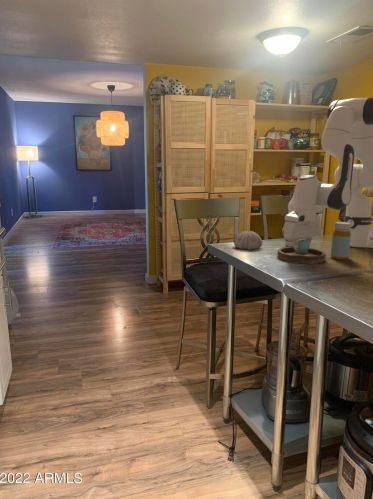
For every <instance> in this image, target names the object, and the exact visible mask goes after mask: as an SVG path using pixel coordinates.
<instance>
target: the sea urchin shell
mask: <svg viewBox="0 0 373 499" xmlns="http://www.w3.org/2000/svg"><path fill="white" fill-rule="evenodd" d="M263 244H264V243H263V240H262V238H261V236H260V235H259V234H258V233H257V232H254V231H252V230H244V231H242V232H240V233H239V234H238V235H236V237H235V238H234V240H233V245H234V247H236V248H238V249H241V250H250V251H251V250H258V249H260V248H262V246H263Z"/></svg>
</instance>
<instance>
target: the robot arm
mask: <svg viewBox="0 0 373 499" xmlns="http://www.w3.org/2000/svg"><path fill="white" fill-rule="evenodd" d="M326 118H327V119H326V120H327V121H326V122H325V126H324V128H323V131H322V132H323V133H322V136H321V140H320V145H321V148H322V149H323V151H324V152H325V153H327V154H328V155H330V156H332V157H334V158H336V159H337V160H338V167H337V168H336V169H335V171H334V175H333V179H334V182H335V183H323V182H321V181H320V180H319V179H318V176H317V175H315V174H307V175H306V174H305V175H300V176H299V177H298V178H297V180H296V183H295V187H296V188H295V205H294V211H292V212H290V213H289V214H288V213H287V214H285V216H284V220H285V222H284V225H283V226H284V227H283V238H284V239H286V240H292V242H293V244H294V249H295V250H298V249H300V248H299V247H300V245H298V242H299V239H303V238H306V240H308V241H309V246H308V248H310V246H311V245H310V244H311V242H312V241H313V238H314V237H319V236H320V235H321V233H322V223H321V217H320V215H319V214H317V207H321V208H328V209H331V210H336V211H341V210H343V209H345V215H344V217H343V222H348V223H351V228H350V233H351V240H350V247H353V248H368V249H369V248H371V249H373V225H372V222H373V216H371V214H372V213H371V212H372V211H371V210H372V206H373V205H372V204H373V202H372V200H371V198H370V197H369V196H367V195H366V194H364V193H362V190H361V188H367V189H368V188H369V189H373V96H371V97H353V98H346V99H337V100H334V101H332V102H331V103H330V104H329V106H328V107H327V111H326ZM355 159H356V160H358V161H360V163H354V162H355Z"/></svg>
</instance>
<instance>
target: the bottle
mask: <svg viewBox="0 0 373 499" xmlns="http://www.w3.org/2000/svg"><path fill="white" fill-rule="evenodd" d="M350 228H351V223H348V222H344V221H335V222H334V229H333V233H332V239H331V240H332V241H331V248H330V257H331V258H332V259H334V260H340V261H341V260H342V261H345V260H348V258H349V256H350V249H351V248H350V247H351V246H350V240H351V233H350Z"/></svg>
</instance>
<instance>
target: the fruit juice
mask: <svg viewBox="0 0 373 499" xmlns="http://www.w3.org/2000/svg"><path fill="white" fill-rule="evenodd" d="M295 188H296V186H294V187H293V191H294V192H293V195H292V197H291V198H290V200H289V202H288V204H287V209H288V213H287V214H289V213H290V212H292V211H294V205H295ZM284 239H285V238H284ZM302 240H306V238H303V239H302ZM284 245H285V247H294V244H293V242H292V240H286V239H285V240H284Z"/></svg>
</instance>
